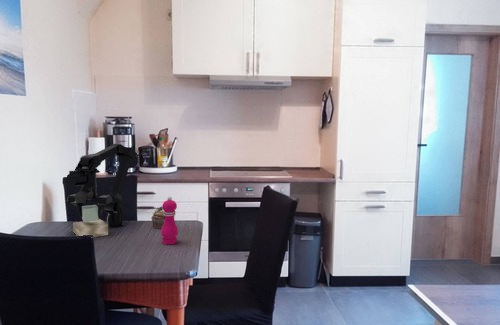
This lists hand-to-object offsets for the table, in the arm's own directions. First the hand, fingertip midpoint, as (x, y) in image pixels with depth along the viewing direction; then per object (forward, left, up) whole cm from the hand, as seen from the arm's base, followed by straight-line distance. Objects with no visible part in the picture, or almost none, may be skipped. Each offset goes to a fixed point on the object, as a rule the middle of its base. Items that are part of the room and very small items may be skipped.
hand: (90, 217), depth 171 cm
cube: (0, 0, -1) cm, 1 cm away
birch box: (0, 0, -8) cm, 8 cm away
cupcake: (-32, +4, -8) cm, 33 cm away
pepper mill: (-27, +29, -8) cm, 40 cm away
